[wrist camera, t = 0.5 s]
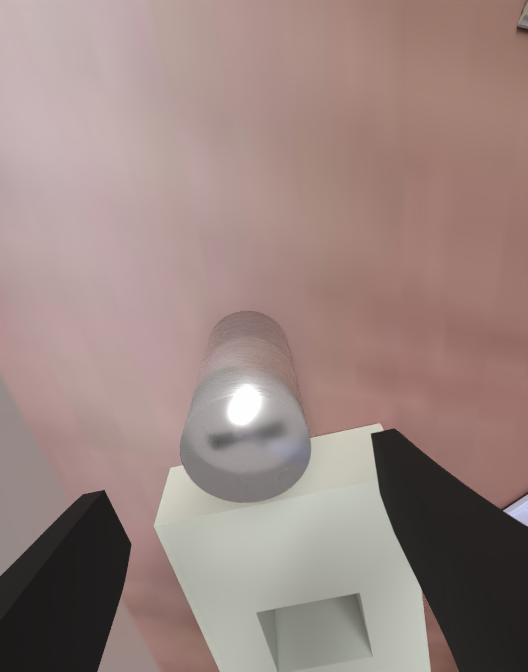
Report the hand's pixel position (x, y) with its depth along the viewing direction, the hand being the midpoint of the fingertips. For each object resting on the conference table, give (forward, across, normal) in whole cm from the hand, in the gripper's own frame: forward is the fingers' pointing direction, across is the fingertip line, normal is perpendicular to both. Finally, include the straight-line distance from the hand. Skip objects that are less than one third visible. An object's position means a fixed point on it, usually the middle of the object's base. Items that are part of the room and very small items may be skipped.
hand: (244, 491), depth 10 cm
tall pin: (+10, 0, 0) cm, 10 cm away
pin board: (+10, 0, +16) cm, 19 cm away
